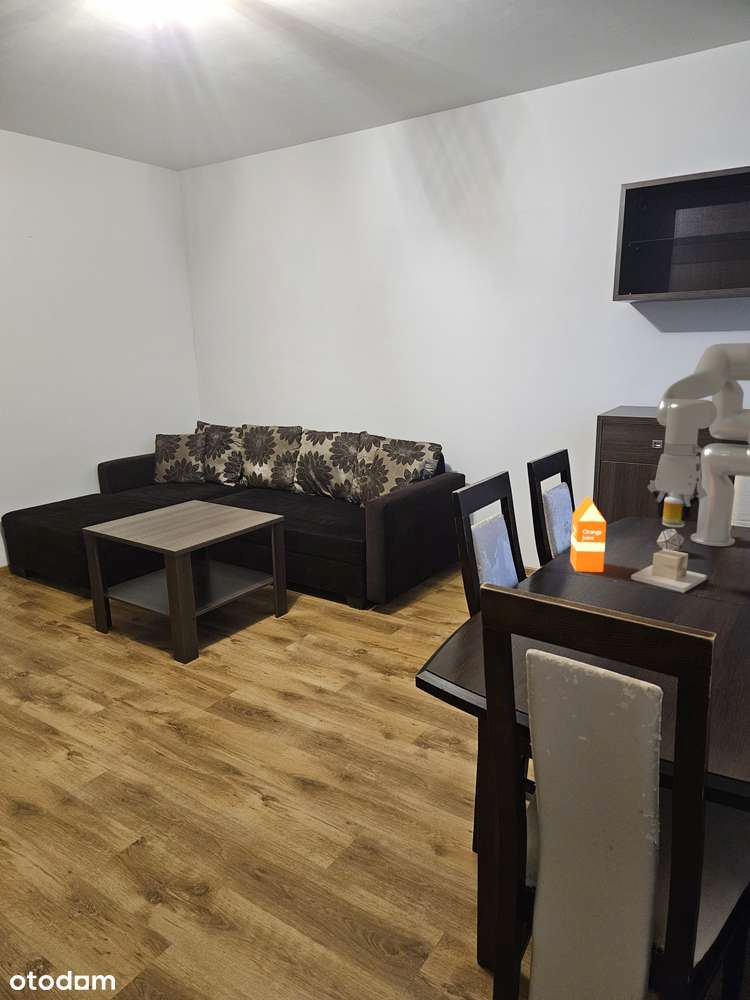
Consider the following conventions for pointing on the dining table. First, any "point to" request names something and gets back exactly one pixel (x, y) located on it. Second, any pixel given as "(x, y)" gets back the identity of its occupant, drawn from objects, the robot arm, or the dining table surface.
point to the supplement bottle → (673, 510)
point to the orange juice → (588, 538)
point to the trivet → (678, 585)
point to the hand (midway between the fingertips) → (674, 517)
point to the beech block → (669, 564)
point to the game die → (670, 539)
